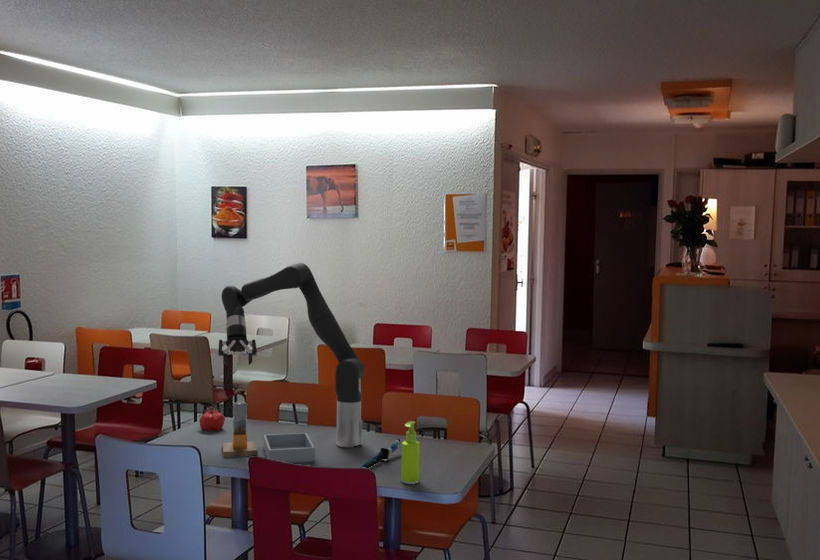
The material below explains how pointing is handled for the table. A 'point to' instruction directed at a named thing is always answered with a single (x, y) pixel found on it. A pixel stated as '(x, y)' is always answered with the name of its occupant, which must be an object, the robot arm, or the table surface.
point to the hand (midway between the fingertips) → (238, 363)
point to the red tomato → (211, 420)
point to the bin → (289, 447)
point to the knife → (383, 454)
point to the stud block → (239, 450)
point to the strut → (239, 425)
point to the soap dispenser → (410, 455)
